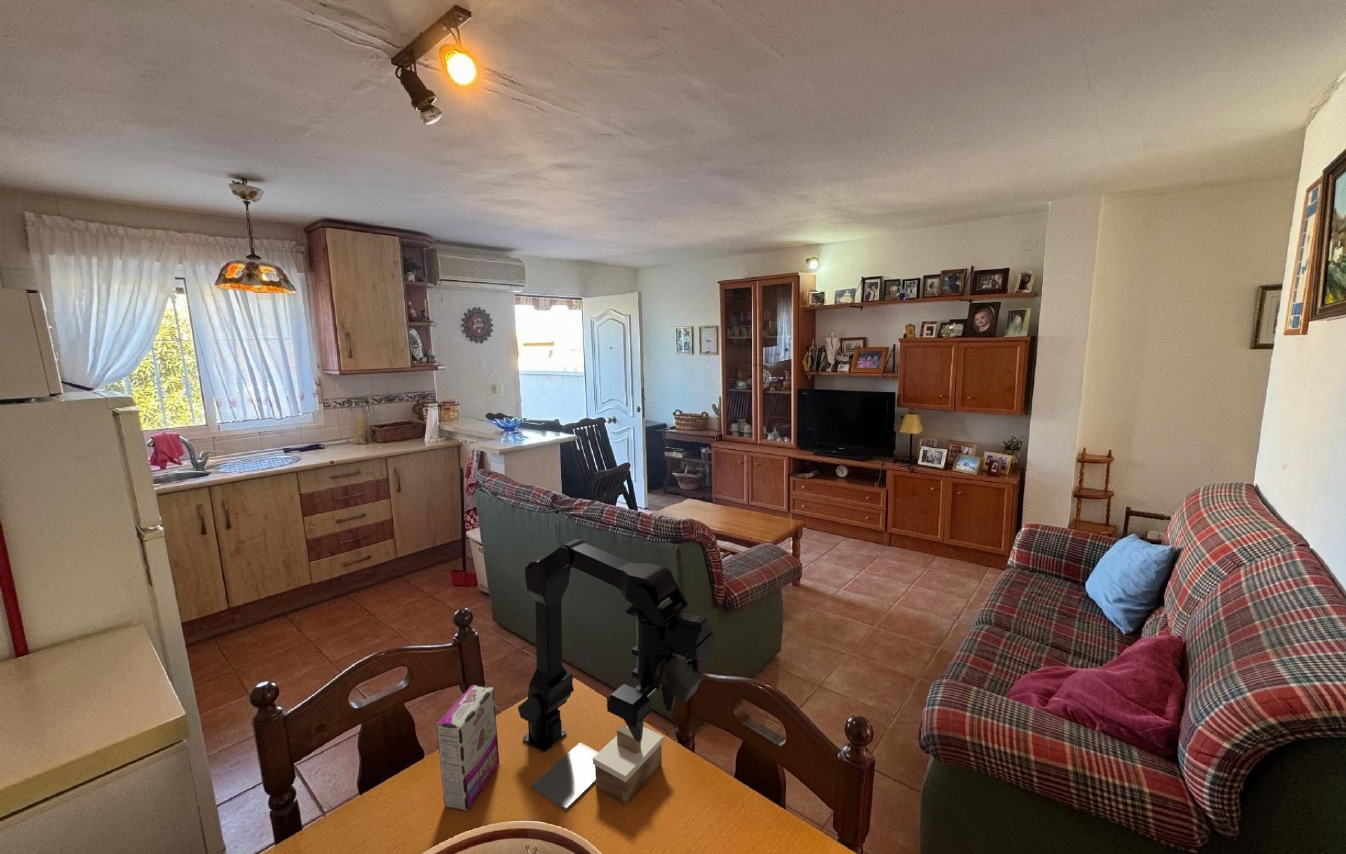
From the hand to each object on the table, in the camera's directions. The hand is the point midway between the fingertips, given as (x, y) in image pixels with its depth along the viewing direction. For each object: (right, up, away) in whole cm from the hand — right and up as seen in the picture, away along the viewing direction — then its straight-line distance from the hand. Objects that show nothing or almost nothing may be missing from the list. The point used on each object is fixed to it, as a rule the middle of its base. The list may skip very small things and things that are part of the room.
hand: (654, 725), depth 94 cm
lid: (-5, -9, +6) cm, 12 cm away
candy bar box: (-34, -14, +5) cm, 37 cm away
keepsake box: (-5, -14, +7) cm, 16 cm away
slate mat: (-15, -14, +7) cm, 22 cm away
